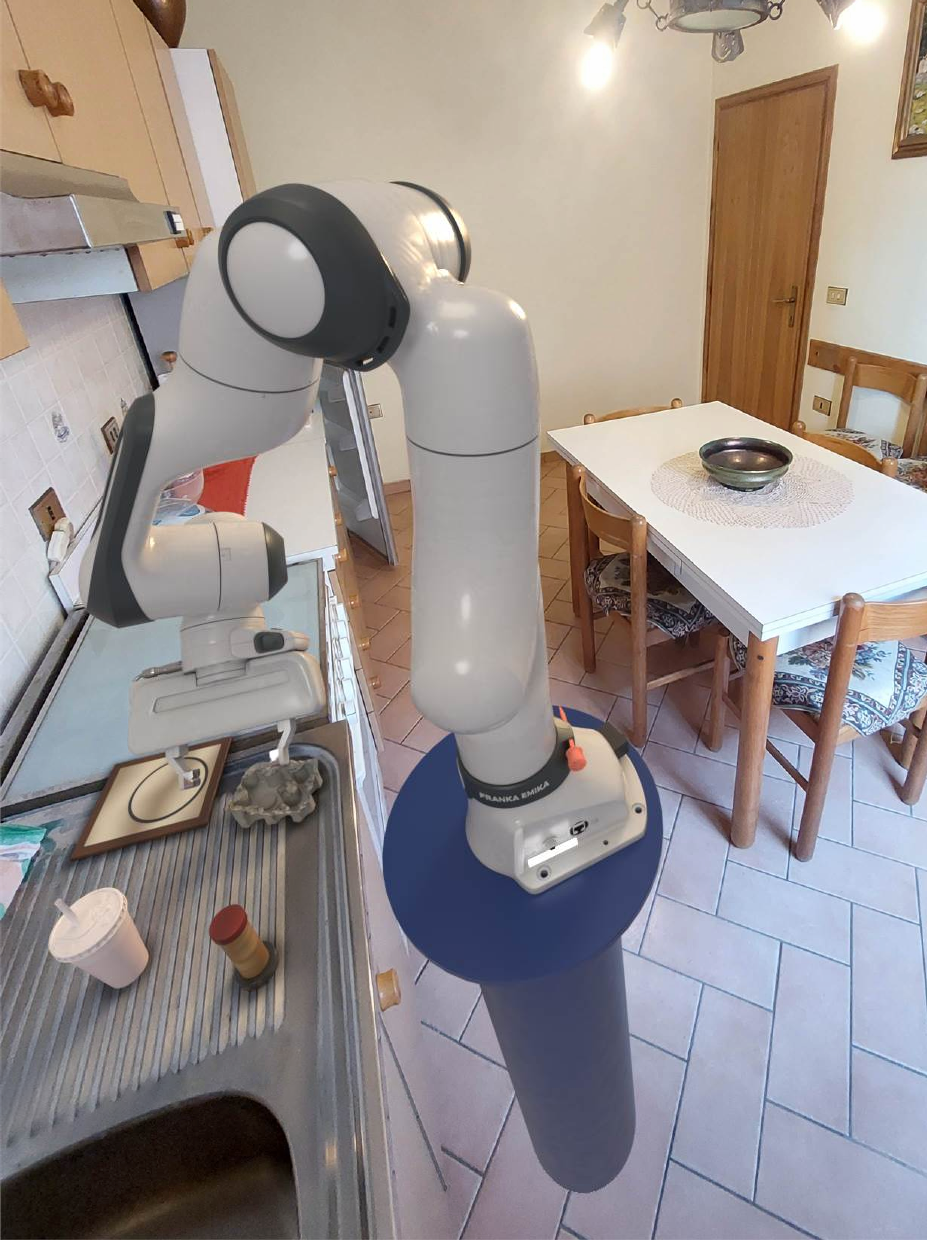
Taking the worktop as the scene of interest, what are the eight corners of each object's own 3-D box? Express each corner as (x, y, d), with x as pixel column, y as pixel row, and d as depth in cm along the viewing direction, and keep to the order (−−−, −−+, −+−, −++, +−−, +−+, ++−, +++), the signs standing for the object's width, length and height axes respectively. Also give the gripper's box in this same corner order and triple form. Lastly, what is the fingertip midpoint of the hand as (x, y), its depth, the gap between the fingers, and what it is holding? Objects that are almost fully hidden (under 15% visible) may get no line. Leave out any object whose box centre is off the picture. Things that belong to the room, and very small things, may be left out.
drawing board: (233, 738, 90) (231, 734, 90) (207, 825, 78) (205, 822, 78) (116, 766, 87) (114, 763, 87) (71, 861, 75) (68, 858, 75)
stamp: (281, 941, 65) (252, 894, 61) (275, 983, 62) (243, 937, 57) (243, 952, 65) (210, 906, 60) (234, 996, 61) (198, 951, 57)
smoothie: (91, 965, 65) (23, 895, 58) (157, 920, 68) (100, 849, 62) (97, 1020, 60) (24, 951, 54) (167, 969, 64) (107, 898, 57)
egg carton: (229, 831, 77) (216, 811, 75) (254, 777, 84) (244, 758, 82) (310, 825, 77) (300, 805, 75) (329, 772, 83) (320, 753, 81)
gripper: (112, 672, 65) (116, 808, 62) (307, 629, 69) (321, 756, 65) (144, 672, 71) (149, 796, 68) (322, 633, 75) (336, 749, 71)
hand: (235, 776), depth 67 cm, fingers open, 8 cm apart
